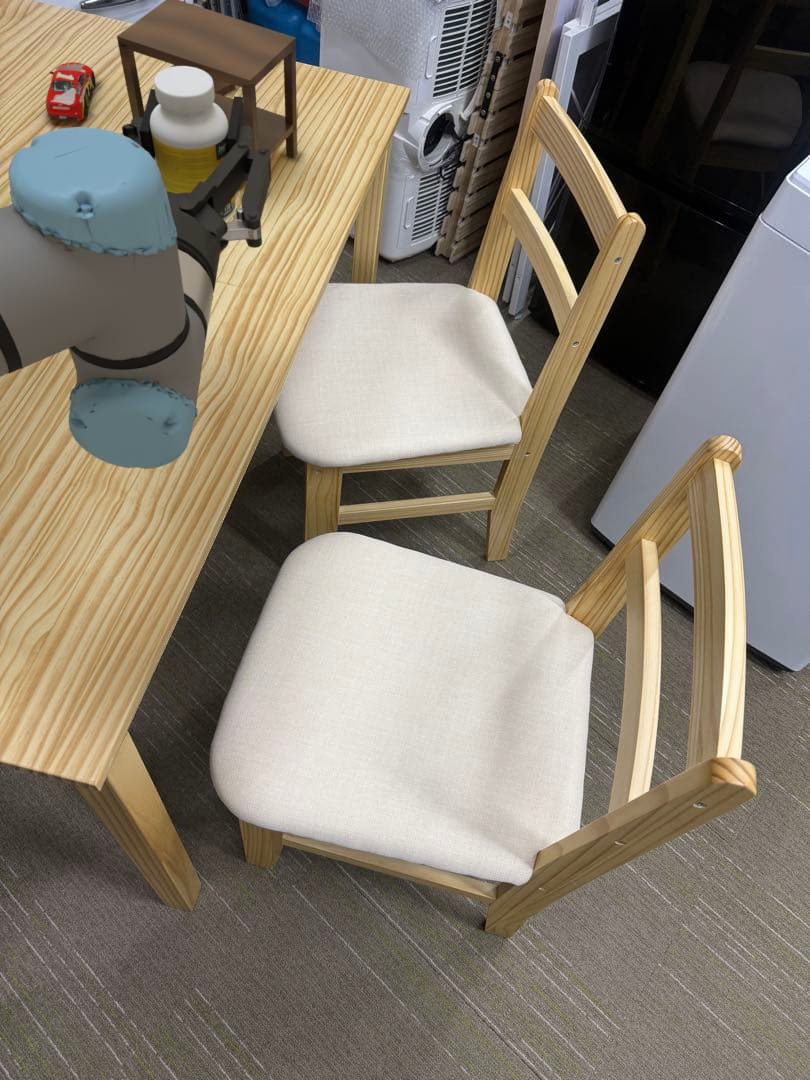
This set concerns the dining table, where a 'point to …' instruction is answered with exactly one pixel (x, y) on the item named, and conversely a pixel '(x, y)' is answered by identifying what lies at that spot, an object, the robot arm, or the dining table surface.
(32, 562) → the dining table surface
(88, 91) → the race car
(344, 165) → the dining table surface
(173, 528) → the dining table surface
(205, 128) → the pill bottle
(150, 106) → the robot arm
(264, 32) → the rack
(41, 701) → the dining table surface
